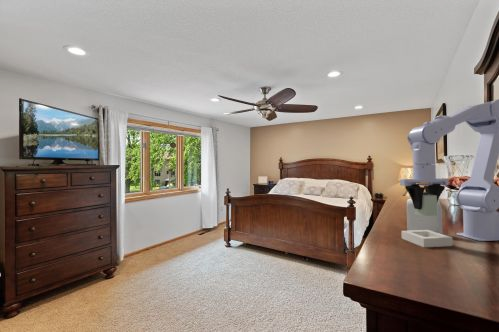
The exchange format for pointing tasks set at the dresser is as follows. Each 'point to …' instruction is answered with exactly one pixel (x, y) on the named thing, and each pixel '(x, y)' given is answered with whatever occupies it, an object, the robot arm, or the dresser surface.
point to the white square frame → (427, 238)
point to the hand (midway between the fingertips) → (424, 208)
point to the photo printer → (423, 219)
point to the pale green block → (428, 205)
